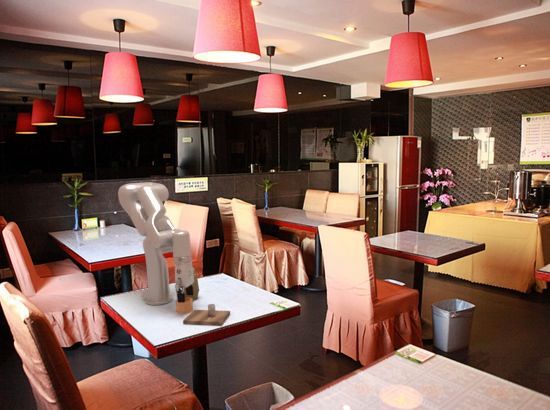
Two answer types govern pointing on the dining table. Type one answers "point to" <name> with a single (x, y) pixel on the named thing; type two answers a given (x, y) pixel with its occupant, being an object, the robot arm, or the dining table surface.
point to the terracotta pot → (185, 306)
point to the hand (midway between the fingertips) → (185, 298)
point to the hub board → (207, 317)
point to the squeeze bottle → (195, 287)
